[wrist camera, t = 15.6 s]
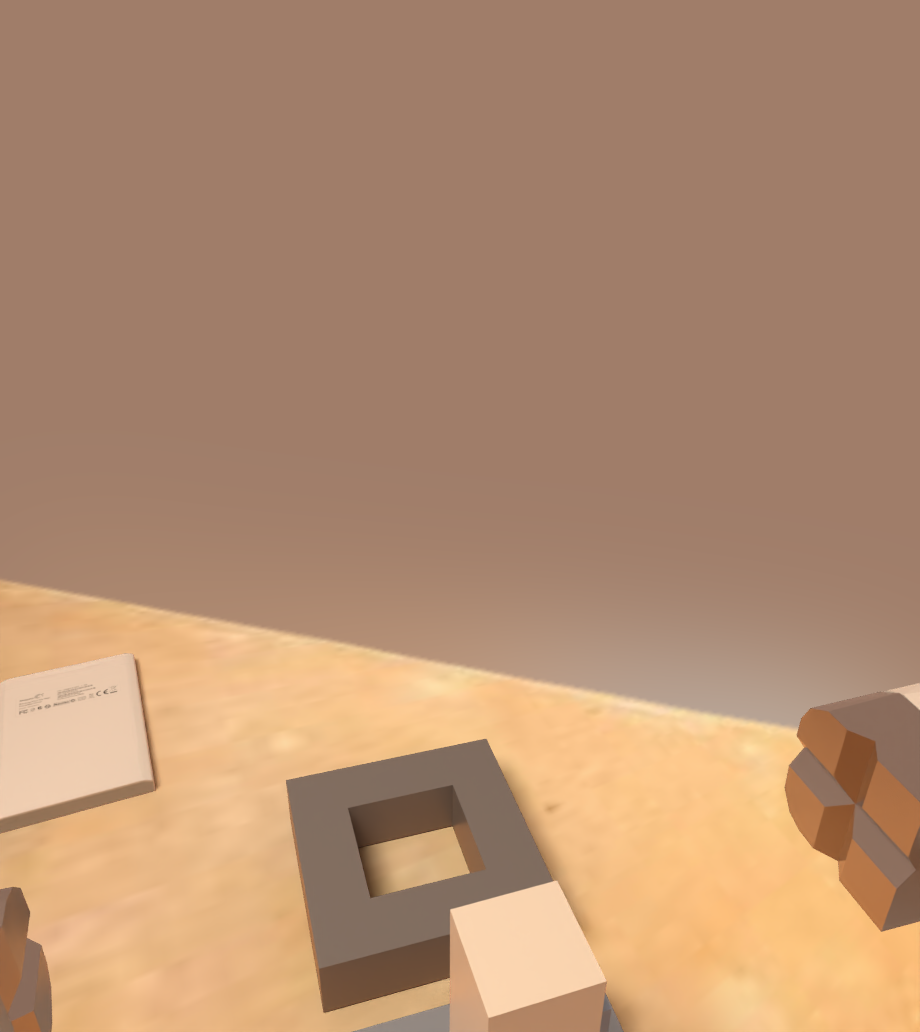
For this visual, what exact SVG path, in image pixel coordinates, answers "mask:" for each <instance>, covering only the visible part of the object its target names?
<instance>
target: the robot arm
mask: <svg viewBox="0 0 920 1032" xmlns="http://www.w3.org/2000/svg"><path fill="white" fill-rule="evenodd" d="M797 737H798V738H799V740H800V742H801V743H802V745H803V746H804V749H803V750H802V751H801V752H800V753H799V754H798V756H797V757H796V758H795V759H794V760H793V761H792V763H791V764H790V765H789V768H788V773H787V779H786V784H785V792H786V797H787V801H788V806H789V811H790V813H791V815H792V817H793V819H794V821H795V823H796V825H797V827H798V829H799V831H800V832H801V833H802V835H803V836H804V837H805V838H806V840H807V841H808V842H809V844H810V845H811V846H812V847H813V848H814V849H816V850H818V851H820V852H822V853H823V854H825V855H827V856H829V857H831V858H833V859H835V860H837V861H838V867H839V881H840V882H841V883H842V884H843V886H844V887H845V888H846V889H847V890H848V892H849V893H850V894H851V895H852V897H853V898H854V899H855V900H856V901H857V903H858V904H859V905H860V906H861V908H862V909H863V910H864V911H865V912H866V914H867V915H868V916H869V917H870V919H871V920H872V921H873V922H874V923H875V925H876V926H877V927H878V928H879V930H880V931H881V932H882V931H885V930H889V929H893V928H896V927H900V926H904V925H908V924H911V923H915V922H919V921H920V683H918V684H914V685H910V686H905V687H901V688H896V689H892V690H888V691H886V692H877V693H873V694H869V695H865V696H860V697H856V698H852V699H848V700H844V701H839V702H835V703H831V704H827V705H822V706H818V707H814V708H810V709H809V711H808V712H807V713H806V714H805V715H804V716H803V717H802V718H801V721H800V725H799V729H798V732H797ZM29 917H30V911H29V908H28V906H27V903H26V901H25V898H24V896H23V893H22V891H21V888H17V887H10V888H5V889H0V1032H51V1030H52V1000H51V984H50V978H49V972H48V966H47V962H46V959H45V955H44V952H43V949H42V946H41V945H40V944H38V943H36V942H34V941H32V940H30V939H28V938H27V932H28V924H29Z"/></svg>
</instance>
